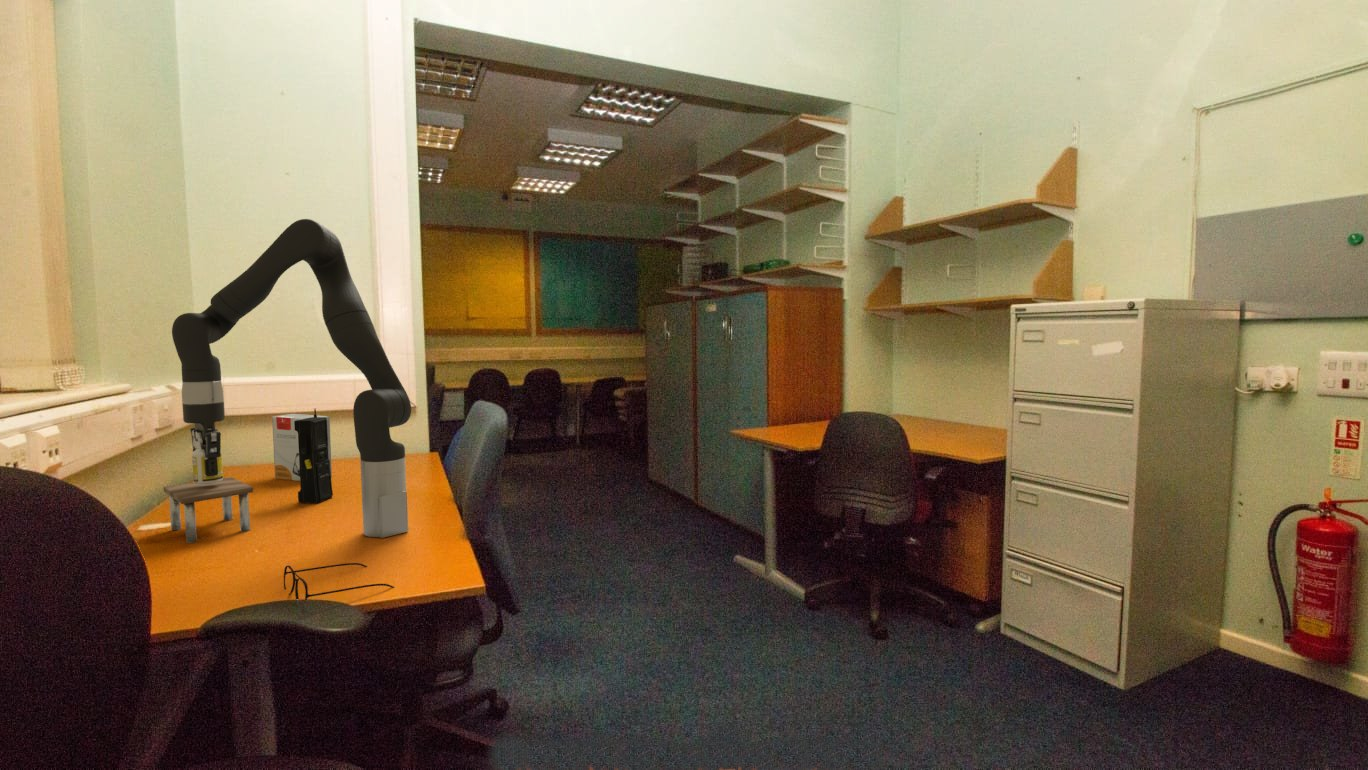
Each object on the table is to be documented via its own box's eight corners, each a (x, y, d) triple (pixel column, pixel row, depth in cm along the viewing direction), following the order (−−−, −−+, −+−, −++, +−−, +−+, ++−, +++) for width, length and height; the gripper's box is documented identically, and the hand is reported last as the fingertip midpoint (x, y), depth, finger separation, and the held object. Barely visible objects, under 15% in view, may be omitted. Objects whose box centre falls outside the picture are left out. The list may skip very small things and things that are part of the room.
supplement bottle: (228, 479, 145) (226, 438, 144) (212, 485, 139) (209, 442, 139) (205, 479, 145) (202, 438, 144) (187, 485, 139) (184, 442, 138)
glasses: (281, 590, 111) (284, 562, 111) (369, 576, 122) (371, 551, 122) (303, 615, 101) (306, 585, 101) (397, 598, 112) (399, 571, 112)
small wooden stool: (255, 530, 143) (252, 487, 142) (184, 544, 133) (181, 498, 132) (233, 517, 153) (231, 476, 152) (166, 529, 143) (163, 486, 142)
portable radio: (317, 504, 164) (313, 412, 162) (295, 504, 164) (290, 411, 162) (334, 497, 172) (330, 408, 170) (313, 496, 172) (309, 408, 170)
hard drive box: (273, 479, 193) (270, 416, 191) (295, 474, 200) (292, 413, 198) (312, 483, 188) (309, 418, 186) (333, 477, 195) (330, 415, 194)
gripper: (232, 401, 139) (237, 475, 140) (214, 397, 148) (218, 466, 149) (191, 404, 133) (196, 481, 134) (174, 400, 142) (179, 472, 143)
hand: (207, 473), depth 142 cm, fingers closed on supplement bottle, 5 cm apart
